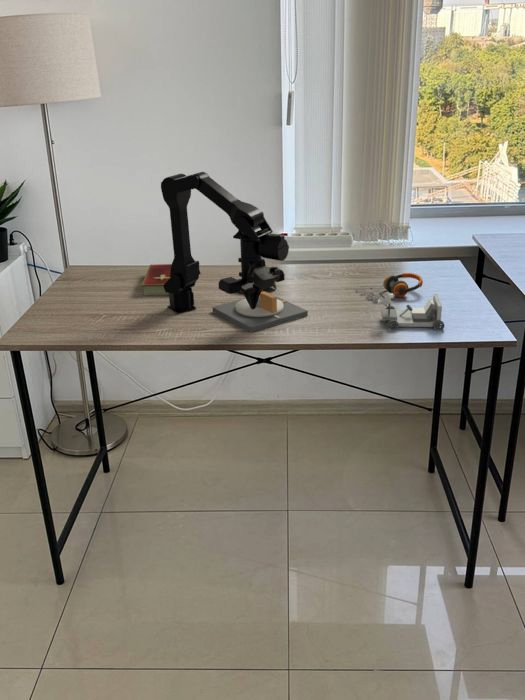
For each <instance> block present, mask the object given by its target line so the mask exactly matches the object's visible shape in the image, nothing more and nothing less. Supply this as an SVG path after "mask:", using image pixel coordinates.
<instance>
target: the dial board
mask: <svg viewBox="0 0 525 700" xmlns="http://www.w3.org/2000/svg"><path fill="white" fill-rule="evenodd" d="M266 292H267V291H266ZM267 293H269V294H271V295H273V294H272V293H270V292H267ZM276 297H277V299H278V300H280V301H282V302H283V307H284V308H283V310H282V311H281V312H280V313H278V314H276V315H272V316H267V317H249V316H244V315H241V314H239V313H238V312H237V311H236V303H237V302H239V301H240V300H243V299H246V298H245V297H244V298H242V299H237V300H234V301H229V302H227V303H223V304H219V305H215V306H214V305H213V306H212V313H215V314H216V315H218V316H220V317H221V318H224V319H225V320H227V321H229V322H231V323H233V324H235V325H237V326H238V327H240V328H242V329H244V330H245V331H248V332H250V333H253V332H257V331H261V330H264V329H267V328H271V327H274V326H276V325H277V326H278V325H280V324H283V323H287V322H291V321H295V320H298V319H301V318H304V317H308V315H309V313H308V312H309V311H308V310H307V309H305V308H302V307H300V306H299V305H296V304H295V303H292V302H289V301H288V300H285V299H283V298H281V297H279V296H276Z"/></svg>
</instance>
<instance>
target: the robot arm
mask: <svg viewBox="0 0 525 700" xmlns="http://www.w3.org/2000/svg"><path fill="white" fill-rule="evenodd" d="M160 190H161V194H162V198H163V201H164V202H165V204H166V205H167V207H168V209H169V215H170V216H169V218H170V227H171V228H170V229H171V238H172V247H173V260H172V263H171V264H172V265H171V268H170V279H169V280H168V281H167V282H166V283H165V284H164V285H163V287H164V289H165V292H167V293H169V295H168V300H169V305H167V307H166V308H167V309H169V310H170V311H173V312H174V313H175V314H181V313H186V312H189V311H193V310H196V309H197V307H196V306H195V296H194V292H193V287H195V286H196V282H197V281H198V280H199V278H200V275H201V274H202V273H201V271H200V261H199V260H195V259H194V257H193V256H192V248H191V240H190V239H191V237H190V226H189V216H188V204H189V202H190V199H191V196H192V190H197V191H198V192H199V193H200V194H201V195H203V196H204V197H206V199H208V200H210V201H211V202H212V203H213V204H214V205H216V206H217V207H218V208H219V209H221V210H222V211H223V212H225V214H227V215H228V217H229V219H230V222H231V223H232V225H234V227H235V228H236V229H237V230H238V231H237V232H236V233H235V234H234V235H233V236H232V238H233V239H237V240H240V242H239V243H240V257H238V258H237V260H238V263H240V266H241V269H240V270H241V271H239V272H238V277H240V278H239V279H236V278H234V277H232V276H228V277H224V278H221V279H220V280H219V281H218V290H220V291H222V292H223V293H226V294H228V295H233V294H237V293H240V291H242V294H243V295H244V298H246V300H247V302H248V304H249V306H250V308H251V309H255V308H256V305H257V302H258V299H259V296H260V294H261V292H263V291H264V290H263V289H265V288H267V287H269V288H274V287H273V286H274V282H275V283H280V282H282V281H283V282H284V281H285V279H286V277H285V272H284V270H282V269H281V268H280V267H278V266H270V267H269V266H267V265H266V259H269V260H275V261H280V262H282V261H283V262H284V261H285V260H286V259H287V257H288V255H289V252H290V251H289V250H290V249H289V248H290V246H289V242H288V241H287V240H286V239H285V235H284V234H282V233H280V234H276V233H273V231H274V230H273V229H272V227H271V226H270V224H269V222H268V221H267V220H266V218H265V216H264V212H263V210H261V209H260V208H259V207H257V206H256V205H253V204H251V203H248V202H245V201H241V200H240V199H238V198H237V197H236V196H234V195H233V194H232V193H230V192H229V191H228V190H227V189H226V188H224V187H223V186H222V185H220V184H219V183H218V182H216V181H215V180H214V179H213V178H211V177H210V175H209V174H208V173H207V172H205V171H200V172H196V173H192V174H189V175H186V174H184V173H178V174H174V175H171V176H166V177H165V178H163V180H162V181H161V182H160ZM258 229H259V230H258ZM267 267H269V268H267ZM267 289H268V288H267ZM265 290H266V289H265Z"/></svg>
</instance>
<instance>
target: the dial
mask: <svg viewBox="0 0 525 700" xmlns="http://www.w3.org/2000/svg"><path fill="white" fill-rule="evenodd" d="M269 293H270V292H268V293H267V291H264V290H262V292H261V294H260V296H259V299H258V302H257V305H256V308H255V309H251V308H250V306H249V304H248V302H247V300H246V299H244V298H242V299H243V300H241V299H239V300H240V301H239V302H237V303H236V311H237V312H238V313H239V314H241V315H244V316H249V317H267V316H272V315H276V314H278V313H280V312H281V311H282V310H283V308H284V307H283V302H282V301H280V300H278V299H277V297H278V296H276V295H275V294H272V293H270V294H269ZM271 294H272V295H271Z"/></svg>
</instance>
